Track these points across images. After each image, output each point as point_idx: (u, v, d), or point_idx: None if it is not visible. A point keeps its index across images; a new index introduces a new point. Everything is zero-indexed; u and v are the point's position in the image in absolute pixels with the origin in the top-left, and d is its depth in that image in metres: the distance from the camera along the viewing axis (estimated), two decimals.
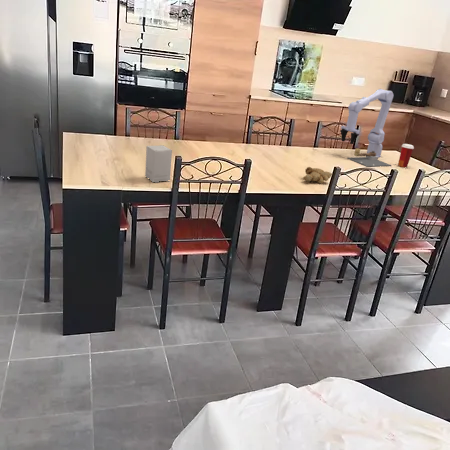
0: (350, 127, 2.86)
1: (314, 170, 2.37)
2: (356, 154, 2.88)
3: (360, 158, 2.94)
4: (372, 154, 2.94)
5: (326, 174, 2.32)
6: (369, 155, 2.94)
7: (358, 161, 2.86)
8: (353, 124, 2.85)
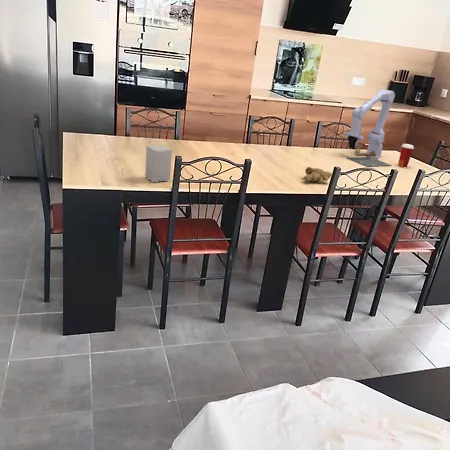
0: (354, 133, 2.88)
1: (314, 170, 2.37)
2: (356, 154, 2.88)
3: (360, 158, 2.94)
4: (372, 154, 2.94)
5: (326, 174, 2.32)
6: (369, 155, 2.94)
7: (358, 161, 2.86)
8: (357, 130, 2.87)
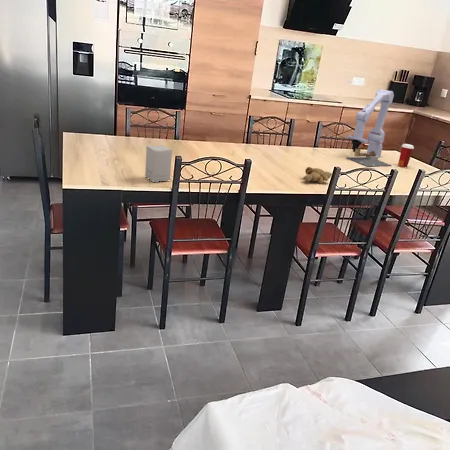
0: (358, 136, 2.85)
1: (314, 170, 2.37)
2: (356, 154, 2.88)
3: (360, 158, 2.94)
4: (372, 154, 2.94)
5: (326, 174, 2.32)
6: (369, 155, 2.94)
7: (358, 161, 2.86)
8: (361, 133, 2.84)
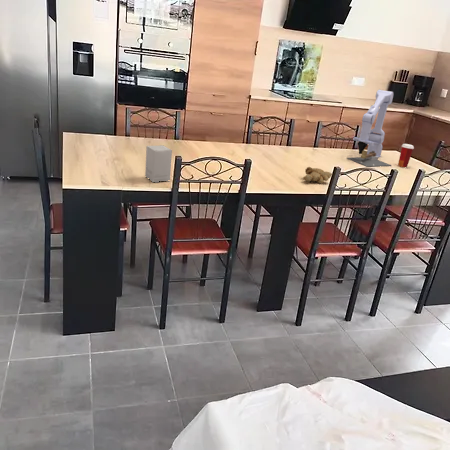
0: (364, 139, 2.81)
1: (314, 170, 2.37)
2: (364, 156, 2.85)
3: (360, 158, 2.94)
4: (373, 154, 2.94)
5: (326, 174, 2.32)
6: None
7: (358, 161, 2.86)
8: (367, 135, 2.80)
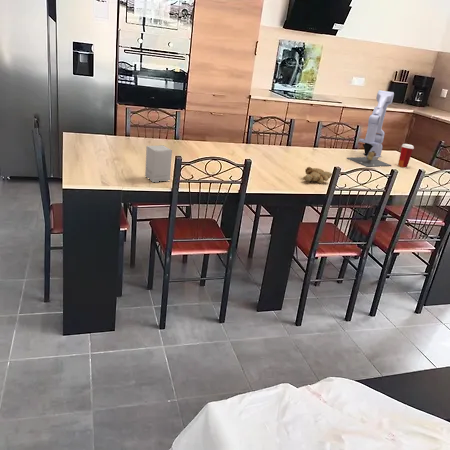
0: (370, 140, 2.78)
1: (314, 170, 2.37)
2: (371, 158, 2.83)
3: (360, 158, 2.94)
4: (374, 154, 2.94)
5: (326, 174, 2.32)
6: None
7: (358, 161, 2.86)
8: (373, 137, 2.78)
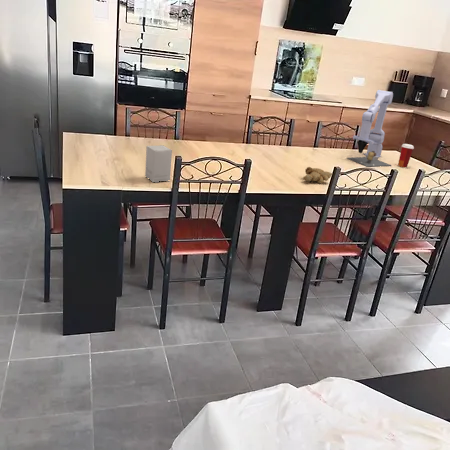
0: (364, 137, 2.79)
1: (314, 170, 2.37)
2: (371, 158, 2.83)
3: (360, 158, 2.94)
4: (374, 154, 2.94)
5: (326, 174, 2.32)
6: None
7: (358, 161, 2.86)
8: (367, 134, 2.79)
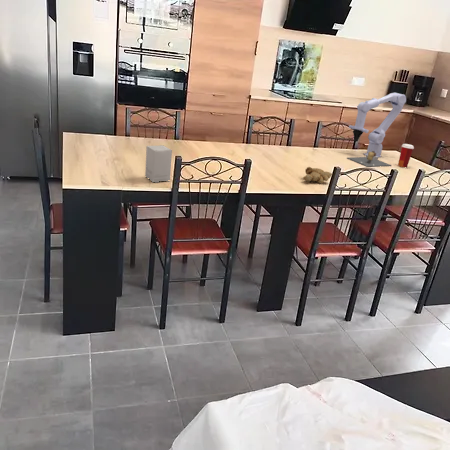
0: (359, 126, 2.95)
1: (314, 170, 2.37)
2: (371, 158, 2.83)
3: (360, 158, 2.94)
4: (374, 154, 2.94)
5: (326, 174, 2.32)
6: None
7: (358, 161, 2.86)
8: (362, 123, 2.94)
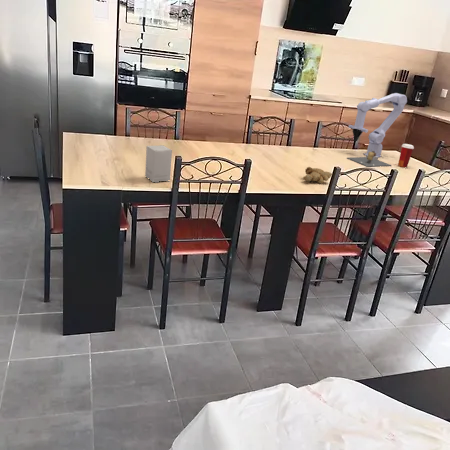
0: (359, 126, 2.96)
1: (314, 170, 2.37)
2: (371, 158, 2.83)
3: (360, 158, 2.94)
4: (374, 154, 2.94)
5: (326, 174, 2.32)
6: None
7: (358, 161, 2.86)
8: (361, 123, 2.95)
